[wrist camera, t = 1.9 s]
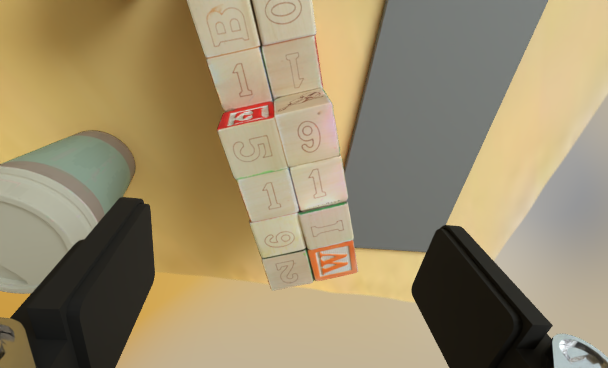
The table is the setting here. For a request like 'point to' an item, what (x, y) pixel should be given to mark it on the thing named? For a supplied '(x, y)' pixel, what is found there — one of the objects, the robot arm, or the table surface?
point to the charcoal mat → (429, 112)
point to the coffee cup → (56, 202)
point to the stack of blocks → (279, 135)
